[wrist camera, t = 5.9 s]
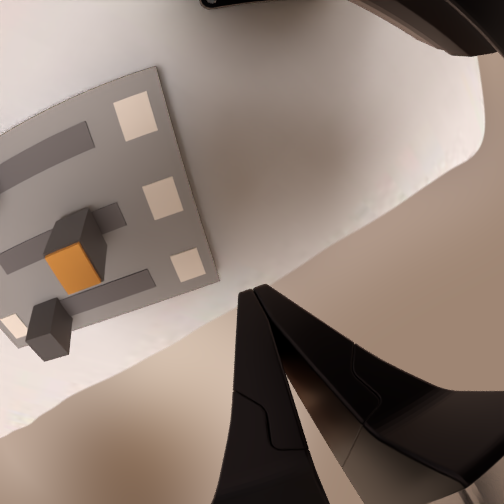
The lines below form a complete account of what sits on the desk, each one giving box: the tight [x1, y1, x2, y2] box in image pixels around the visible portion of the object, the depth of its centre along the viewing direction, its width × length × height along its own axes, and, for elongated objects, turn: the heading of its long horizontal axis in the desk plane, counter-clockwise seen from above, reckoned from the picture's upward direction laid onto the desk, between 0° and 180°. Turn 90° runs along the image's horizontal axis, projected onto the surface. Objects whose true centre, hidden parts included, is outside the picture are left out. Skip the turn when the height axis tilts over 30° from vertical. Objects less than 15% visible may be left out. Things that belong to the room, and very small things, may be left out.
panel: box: [0, 66, 220, 362], centre depth 14 cm, size 16×13×4 cm
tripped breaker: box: [43, 207, 107, 295], centre depth 14 cm, size 2×2×3 cm
